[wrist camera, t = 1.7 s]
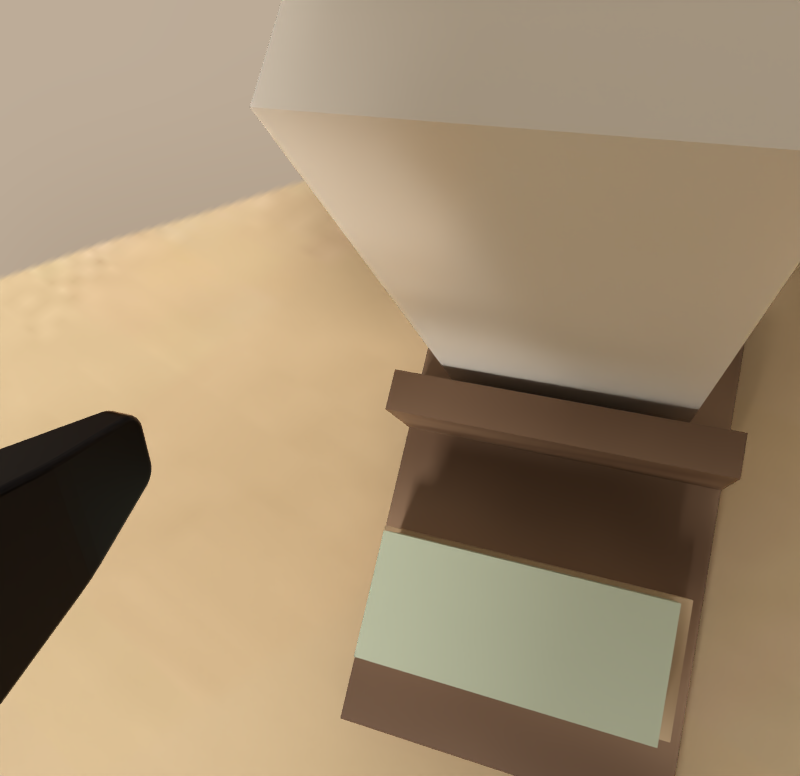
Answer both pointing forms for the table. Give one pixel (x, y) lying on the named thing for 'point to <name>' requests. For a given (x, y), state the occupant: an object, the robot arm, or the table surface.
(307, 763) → the table surface
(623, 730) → the offcut upper
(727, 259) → the white rectangular block
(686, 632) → the offcut lower
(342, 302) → the table surface
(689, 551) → the rack
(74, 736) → the table surface
